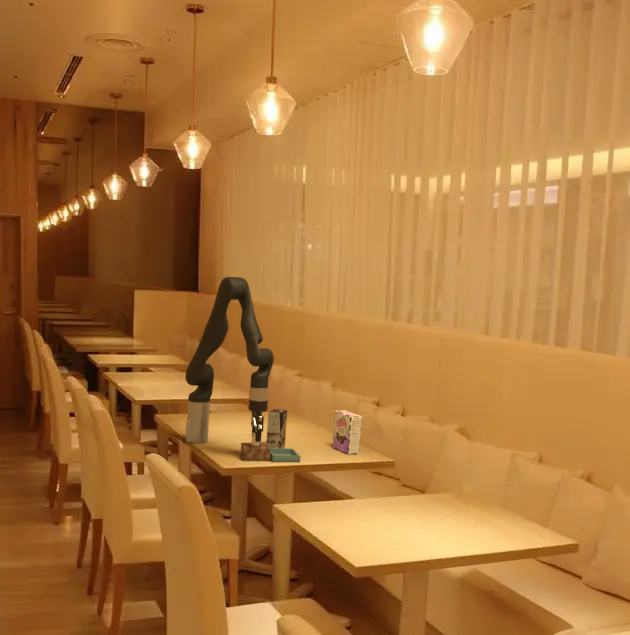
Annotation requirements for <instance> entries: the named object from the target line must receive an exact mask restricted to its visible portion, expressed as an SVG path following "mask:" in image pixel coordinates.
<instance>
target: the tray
mask: <svg viewBox="0 0 630 635" xmlns="http://www.w3.org/2000/svg"><path fill="white" fill-rule="evenodd" d="M270 461H271V462H272V463H301V455H300V454H299V453H298V452H297V451H296V450H295V449H294V448H270Z"/></svg>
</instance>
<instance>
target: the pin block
mask: <svg viewBox="0 0 630 635" xmlns="http://www.w3.org/2000/svg"><path fill="white" fill-rule="evenodd" d="M251 446H252V442H240V457H241V458H242V460H243V461H244V462H270V461H271V459H270V448H269V446H268V445H267V444H266V442H260V447H251Z"/></svg>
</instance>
